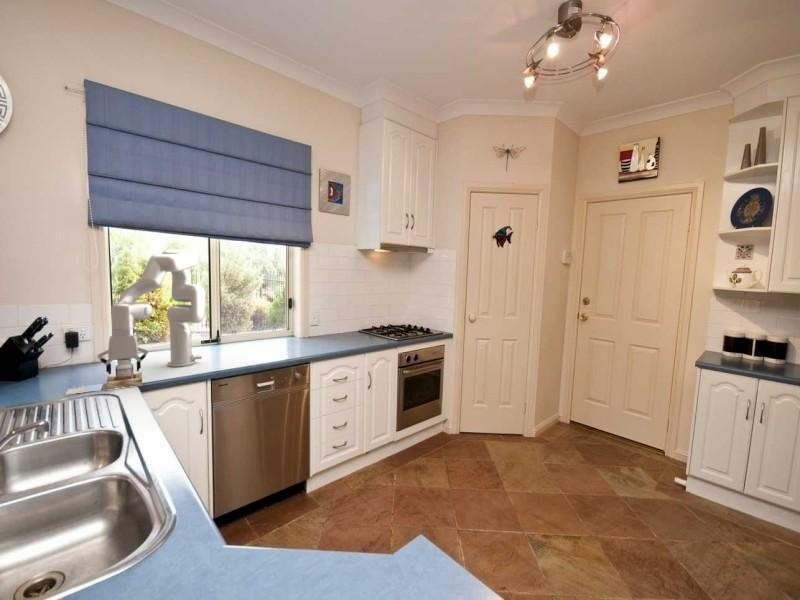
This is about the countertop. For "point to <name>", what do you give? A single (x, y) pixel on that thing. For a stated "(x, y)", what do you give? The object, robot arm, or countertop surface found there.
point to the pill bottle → (124, 369)
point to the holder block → (124, 381)
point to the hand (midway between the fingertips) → (124, 372)
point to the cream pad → (76, 390)
